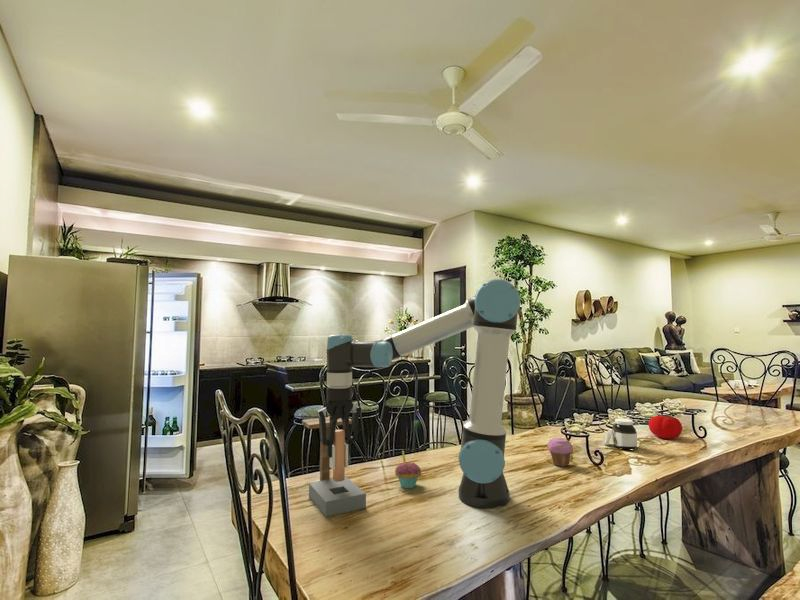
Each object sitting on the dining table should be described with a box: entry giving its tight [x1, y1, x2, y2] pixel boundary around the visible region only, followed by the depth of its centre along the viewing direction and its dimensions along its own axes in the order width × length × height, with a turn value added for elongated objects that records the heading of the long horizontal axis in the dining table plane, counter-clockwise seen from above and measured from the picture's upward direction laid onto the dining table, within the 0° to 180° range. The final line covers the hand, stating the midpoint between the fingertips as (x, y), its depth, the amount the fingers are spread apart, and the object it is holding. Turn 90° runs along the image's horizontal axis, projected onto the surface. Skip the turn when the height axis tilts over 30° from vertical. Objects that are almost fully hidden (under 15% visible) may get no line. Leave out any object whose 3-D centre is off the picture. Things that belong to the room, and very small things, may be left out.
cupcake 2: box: [547, 437, 574, 468], centre depth 156 cm, size 9×9×10 cm
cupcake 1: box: [394, 448, 422, 489], centre depth 137 cm, size 9×8×12 cm
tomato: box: [648, 414, 683, 440], centre depth 194 cm, size 13×12×11 cm
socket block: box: [308, 475, 367, 518], centre depth 124 cm, size 16×12×4 cm
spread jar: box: [603, 418, 638, 450], centre depth 179 cm, size 12×11×12 cm
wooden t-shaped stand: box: [301, 416, 352, 481], centre depth 132 cm, size 8×14×22 cm, turn 118°
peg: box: [332, 429, 346, 482], centre depth 123 cm, size 3×3×14 cm
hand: (338, 466), depth 123 cm, fingers closed on peg, 3 cm apart
